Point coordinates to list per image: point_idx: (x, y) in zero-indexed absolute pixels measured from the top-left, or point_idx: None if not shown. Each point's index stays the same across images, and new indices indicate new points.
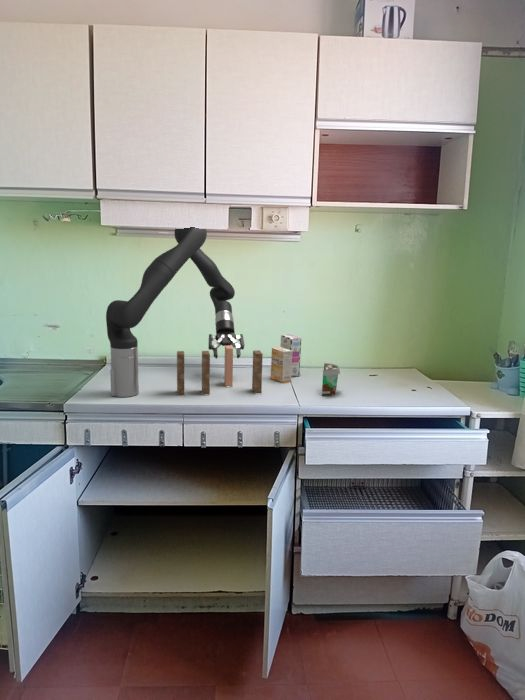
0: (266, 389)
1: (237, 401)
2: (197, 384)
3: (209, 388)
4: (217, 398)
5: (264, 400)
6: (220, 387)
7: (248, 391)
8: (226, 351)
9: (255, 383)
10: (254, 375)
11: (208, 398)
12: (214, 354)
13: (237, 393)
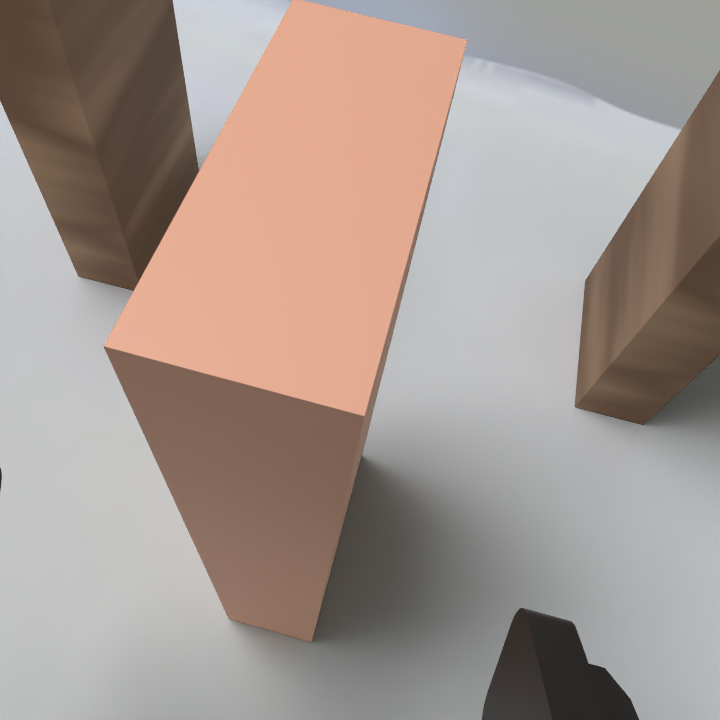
0: (14, 243)
1: None
2: (674, 686)
3: (612, 241)
4: (538, 191)
5: (221, 56)
6: (426, 459)
7: None
8: (450, 105)
9: (182, 104)
10: (160, 63)
11: (607, 213)
12: (608, 686)
13: None
